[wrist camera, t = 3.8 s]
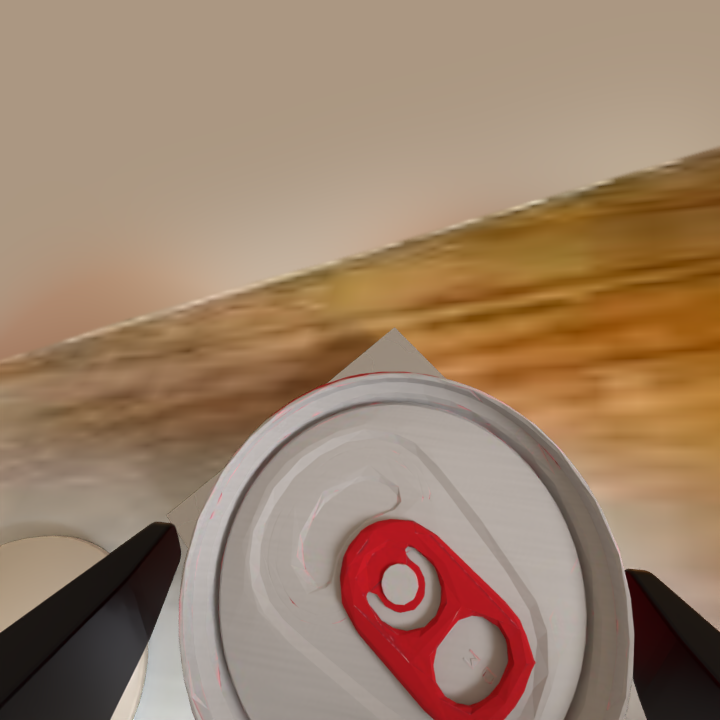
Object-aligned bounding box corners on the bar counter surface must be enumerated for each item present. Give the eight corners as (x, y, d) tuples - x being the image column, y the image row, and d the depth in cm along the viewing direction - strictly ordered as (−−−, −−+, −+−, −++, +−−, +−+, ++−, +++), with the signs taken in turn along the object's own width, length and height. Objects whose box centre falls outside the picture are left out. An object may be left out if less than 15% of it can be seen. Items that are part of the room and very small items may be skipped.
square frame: (371, 787, 13) (371, 833, 11) (190, 514, 16) (166, 515, 14) (588, 546, 15) (618, 551, 14) (392, 345, 19) (394, 327, 17)
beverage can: (380, 418, 17) (388, 254, 6) (497, 527, 16) (798, 576, 5) (272, 531, 16) (26, 588, 5) (387, 664, 14) (428, 1228, 3)
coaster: (-48, 916, 13) (-68, 936, 12) (-138, 653, 15) (-158, 659, 15) (195, 688, 14) (188, 695, 14) (78, 487, 17) (68, 486, 16)
